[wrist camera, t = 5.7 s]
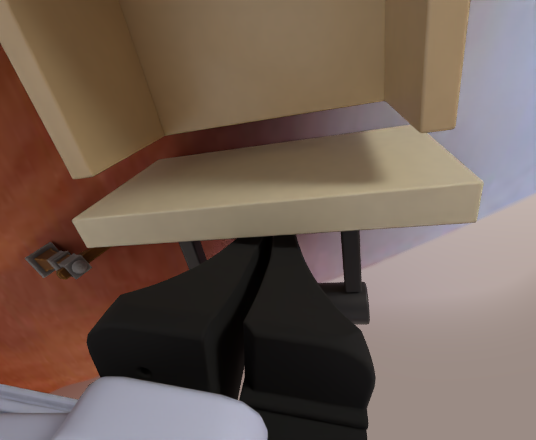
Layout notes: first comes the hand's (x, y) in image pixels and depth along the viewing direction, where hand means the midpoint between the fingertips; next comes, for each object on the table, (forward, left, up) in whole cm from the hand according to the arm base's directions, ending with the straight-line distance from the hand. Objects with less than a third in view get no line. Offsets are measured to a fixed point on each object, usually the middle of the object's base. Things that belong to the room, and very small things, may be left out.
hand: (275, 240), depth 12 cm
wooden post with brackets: (-13, +6, -5) cm, 15 cm away
